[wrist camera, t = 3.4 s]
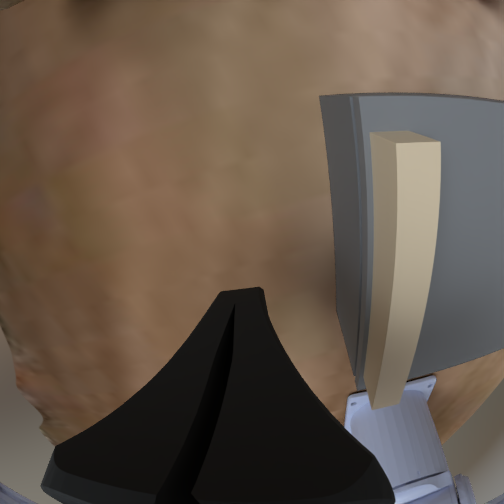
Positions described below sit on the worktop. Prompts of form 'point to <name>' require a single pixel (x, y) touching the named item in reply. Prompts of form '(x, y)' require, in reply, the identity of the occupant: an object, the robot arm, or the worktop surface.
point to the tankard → (8, 3)
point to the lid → (428, 237)
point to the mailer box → (349, 207)
